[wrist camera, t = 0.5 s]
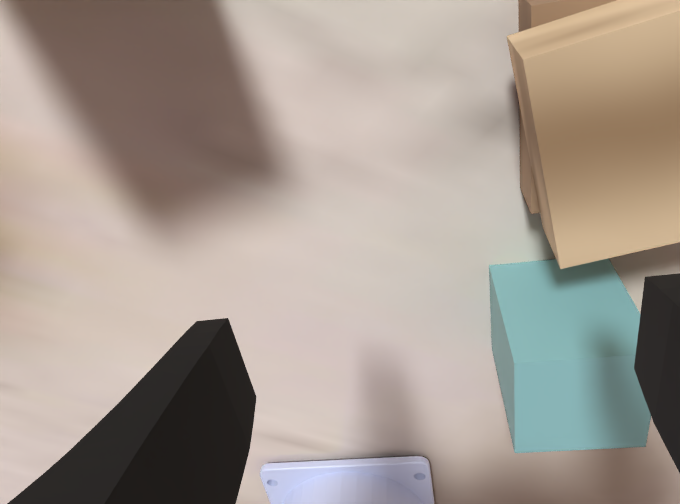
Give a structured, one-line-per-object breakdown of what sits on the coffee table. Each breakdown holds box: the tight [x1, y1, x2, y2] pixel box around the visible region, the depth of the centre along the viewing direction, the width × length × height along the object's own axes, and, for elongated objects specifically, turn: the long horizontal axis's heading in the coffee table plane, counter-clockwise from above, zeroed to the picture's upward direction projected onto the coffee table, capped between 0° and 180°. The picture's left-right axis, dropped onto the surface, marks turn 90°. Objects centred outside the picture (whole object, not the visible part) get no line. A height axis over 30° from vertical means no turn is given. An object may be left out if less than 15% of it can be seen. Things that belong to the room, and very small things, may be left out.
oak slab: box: [507, 0, 680, 269], centre depth 15 cm, size 6×6×2 cm
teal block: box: [489, 258, 651, 453], centre depth 20 cm, size 4×4×5 cm
